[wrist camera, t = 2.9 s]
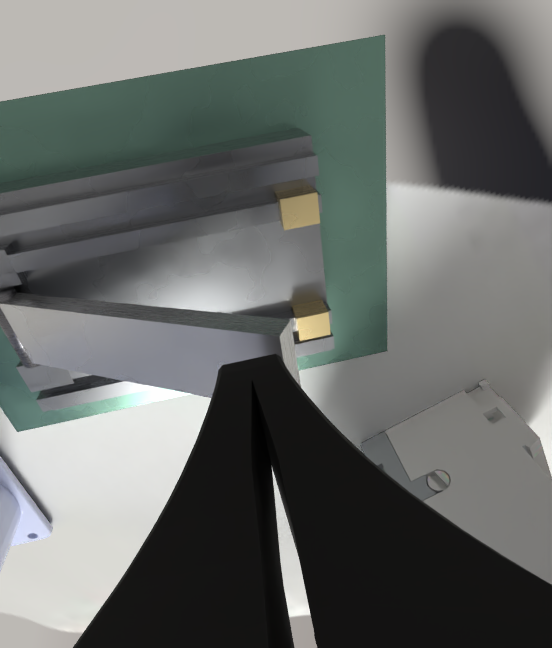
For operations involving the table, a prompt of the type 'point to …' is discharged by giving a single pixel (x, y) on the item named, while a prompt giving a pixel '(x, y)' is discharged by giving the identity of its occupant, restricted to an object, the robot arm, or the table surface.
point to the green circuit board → (200, 208)
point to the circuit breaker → (476, 473)
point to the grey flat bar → (139, 340)
